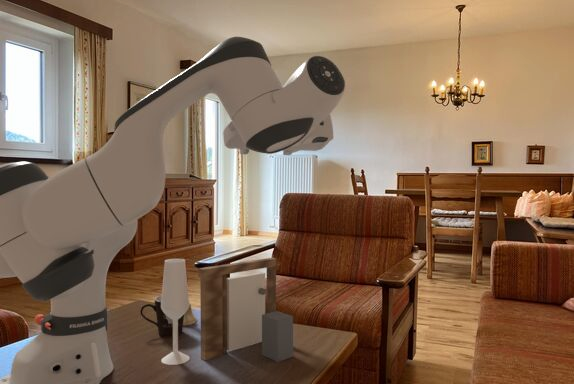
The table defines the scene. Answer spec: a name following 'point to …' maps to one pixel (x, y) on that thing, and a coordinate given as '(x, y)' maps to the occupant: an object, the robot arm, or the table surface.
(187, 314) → the hand bell
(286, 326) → the doorstop
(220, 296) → the door frame
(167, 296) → the champagne flute
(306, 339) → the table surface
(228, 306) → the door
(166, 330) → the coffee mug
